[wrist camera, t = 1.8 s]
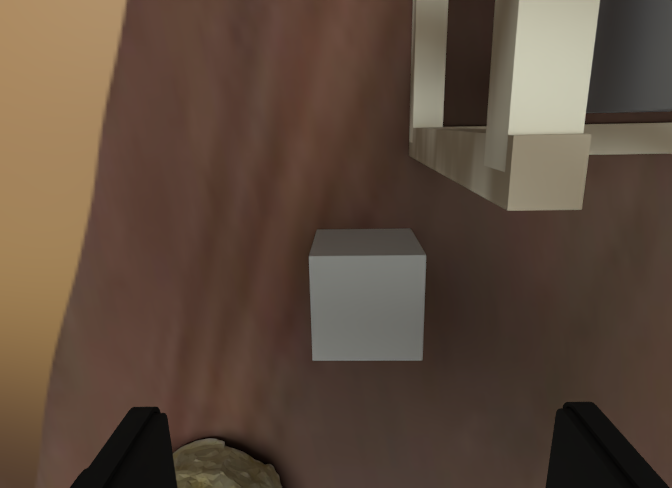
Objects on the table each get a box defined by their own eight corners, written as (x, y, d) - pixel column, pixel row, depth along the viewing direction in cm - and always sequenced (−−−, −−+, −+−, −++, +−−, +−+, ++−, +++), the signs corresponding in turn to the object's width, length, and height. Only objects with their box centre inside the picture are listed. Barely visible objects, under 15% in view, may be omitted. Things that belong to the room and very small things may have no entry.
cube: (410, 228, 24) (426, 255, 19) (408, 314, 25) (422, 360, 20) (317, 229, 24) (308, 256, 19) (319, 315, 25) (312, 360, 20)
